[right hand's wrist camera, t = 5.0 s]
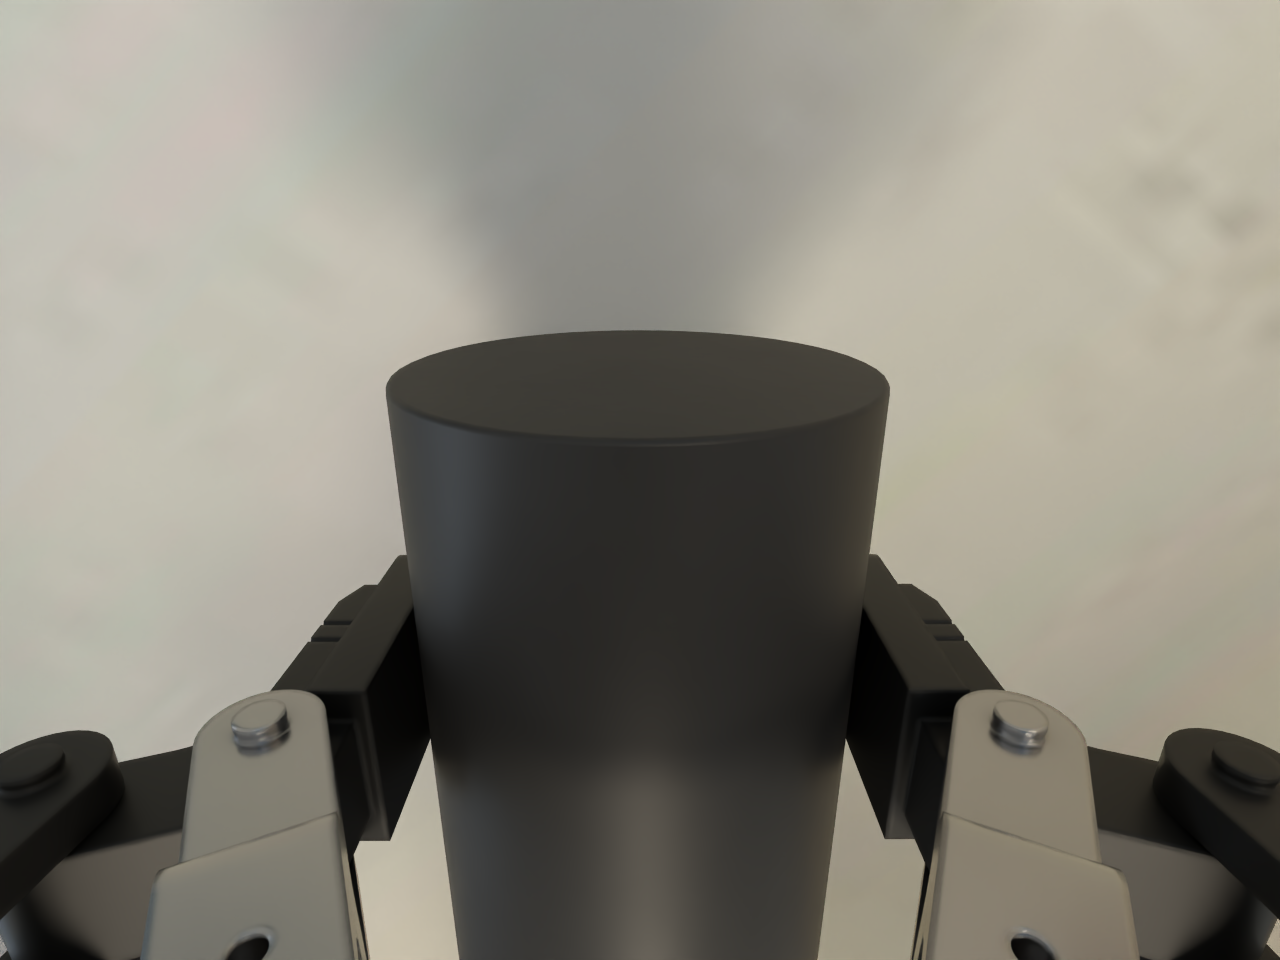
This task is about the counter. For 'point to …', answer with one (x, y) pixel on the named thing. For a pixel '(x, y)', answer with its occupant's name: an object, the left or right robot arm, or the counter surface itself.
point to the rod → (638, 632)
